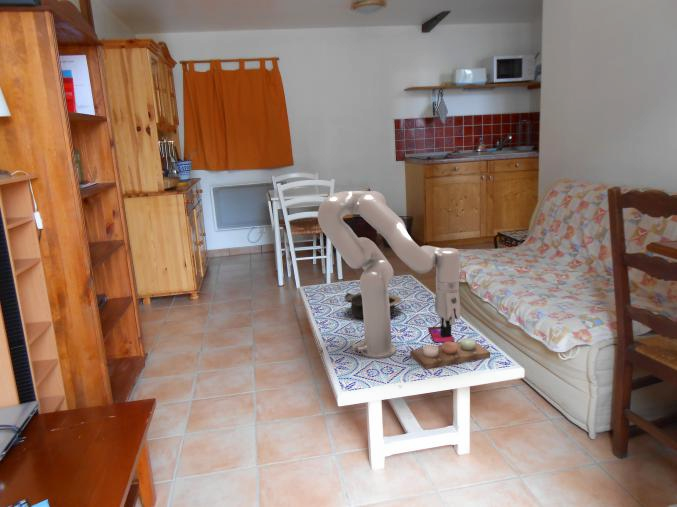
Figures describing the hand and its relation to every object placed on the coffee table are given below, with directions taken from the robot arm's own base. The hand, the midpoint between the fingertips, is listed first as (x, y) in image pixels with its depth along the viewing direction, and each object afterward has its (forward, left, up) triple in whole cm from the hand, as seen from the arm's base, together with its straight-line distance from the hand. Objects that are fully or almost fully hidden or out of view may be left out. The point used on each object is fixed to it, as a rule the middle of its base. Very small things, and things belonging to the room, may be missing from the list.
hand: (445, 336), depth 173 cm
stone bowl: (-8, +53, -8) cm, 54 cm away
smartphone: (+7, +18, -8) cm, 21 cm away
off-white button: (-6, -1, -5) cm, 8 cm away
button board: (+1, -1, -7) cm, 8 cm away
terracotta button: (+1, -1, -5) cm, 5 cm away
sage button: (+8, -1, -5) cm, 10 cm away
